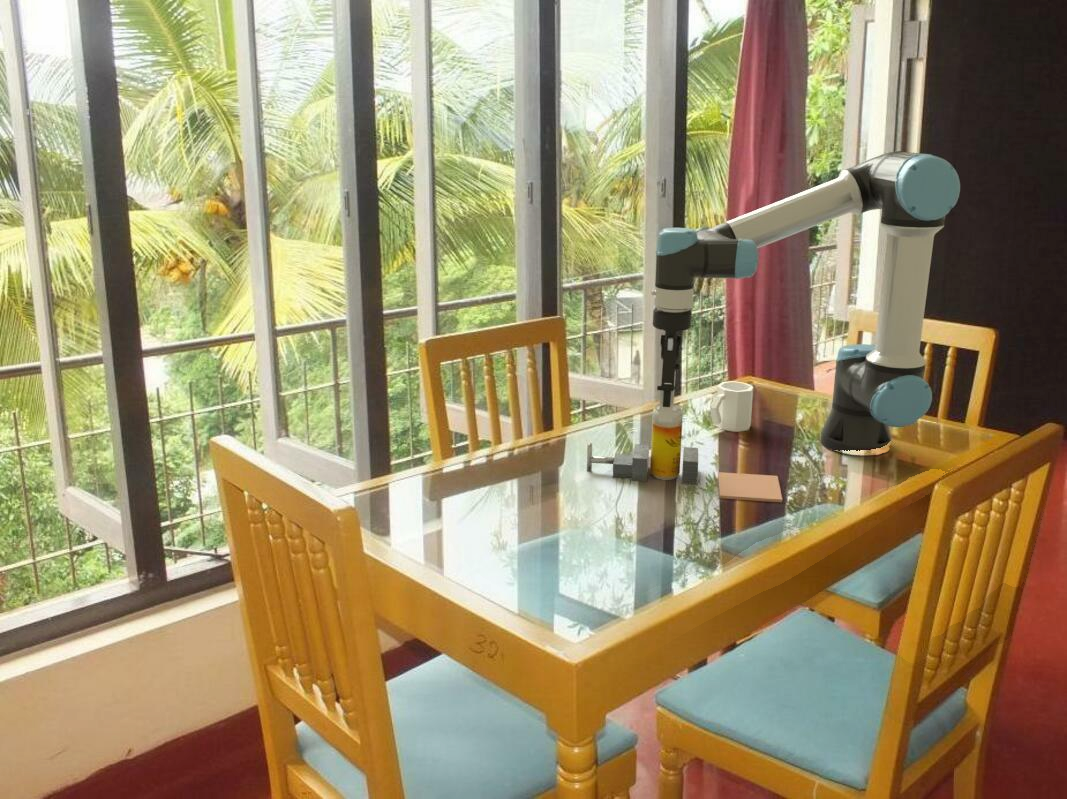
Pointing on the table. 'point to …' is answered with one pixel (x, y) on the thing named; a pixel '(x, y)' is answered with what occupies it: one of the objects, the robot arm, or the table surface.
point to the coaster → (749, 487)
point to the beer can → (666, 445)
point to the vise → (644, 464)
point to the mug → (732, 406)
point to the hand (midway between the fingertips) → (666, 410)
